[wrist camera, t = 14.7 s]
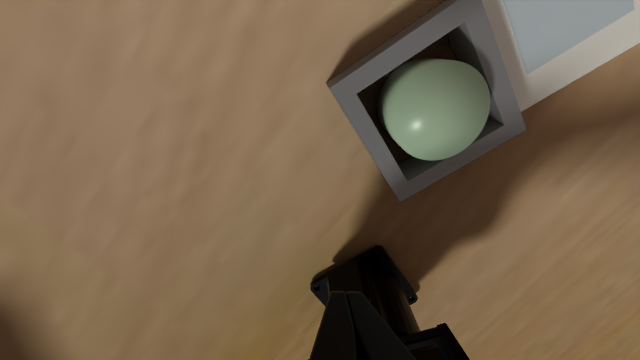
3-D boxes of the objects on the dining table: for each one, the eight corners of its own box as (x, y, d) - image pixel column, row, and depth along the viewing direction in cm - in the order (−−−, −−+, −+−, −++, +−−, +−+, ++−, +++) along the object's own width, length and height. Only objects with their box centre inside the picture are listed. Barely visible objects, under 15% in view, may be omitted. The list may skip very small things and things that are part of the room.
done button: (472, 114, 18) (503, 127, 15) (400, 158, 19) (417, 177, 16) (440, 38, 16) (469, 37, 13) (362, 91, 17) (373, 99, 14)
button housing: (500, 120, 19) (526, 129, 16) (389, 185, 20) (399, 202, 18) (452, -5, 16) (476, -13, 13) (325, 82, 17) (329, 88, 15)
